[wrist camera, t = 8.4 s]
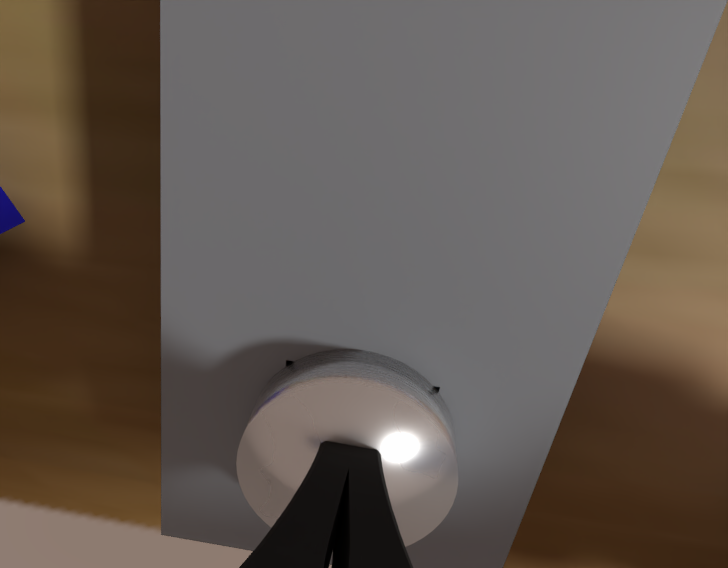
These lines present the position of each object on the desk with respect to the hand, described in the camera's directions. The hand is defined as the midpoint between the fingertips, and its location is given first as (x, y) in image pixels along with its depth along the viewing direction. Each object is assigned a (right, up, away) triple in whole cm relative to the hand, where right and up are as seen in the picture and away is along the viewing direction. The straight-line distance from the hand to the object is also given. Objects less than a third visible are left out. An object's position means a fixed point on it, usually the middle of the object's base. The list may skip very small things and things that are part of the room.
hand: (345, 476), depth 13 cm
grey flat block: (+1, +6, +3) cm, 7 cm away
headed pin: (0, +2, +4) cm, 5 cm away
